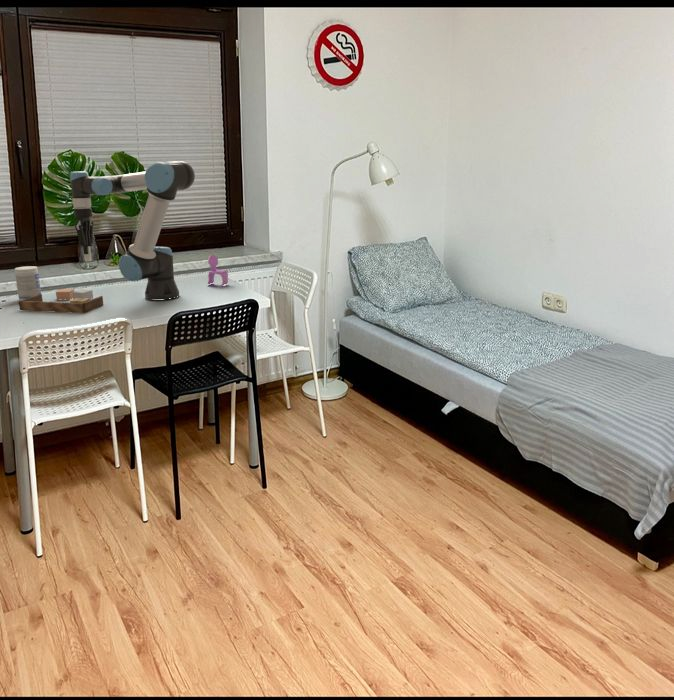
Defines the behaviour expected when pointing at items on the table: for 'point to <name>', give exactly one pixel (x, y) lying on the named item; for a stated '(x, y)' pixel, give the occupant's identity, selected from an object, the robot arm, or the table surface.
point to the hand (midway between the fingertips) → (88, 260)
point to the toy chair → (213, 263)
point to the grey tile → (82, 294)
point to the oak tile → (80, 300)
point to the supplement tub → (27, 282)
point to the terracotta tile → (65, 294)
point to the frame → (59, 305)
